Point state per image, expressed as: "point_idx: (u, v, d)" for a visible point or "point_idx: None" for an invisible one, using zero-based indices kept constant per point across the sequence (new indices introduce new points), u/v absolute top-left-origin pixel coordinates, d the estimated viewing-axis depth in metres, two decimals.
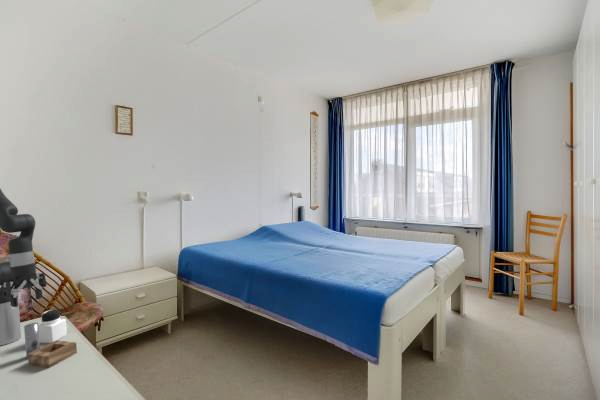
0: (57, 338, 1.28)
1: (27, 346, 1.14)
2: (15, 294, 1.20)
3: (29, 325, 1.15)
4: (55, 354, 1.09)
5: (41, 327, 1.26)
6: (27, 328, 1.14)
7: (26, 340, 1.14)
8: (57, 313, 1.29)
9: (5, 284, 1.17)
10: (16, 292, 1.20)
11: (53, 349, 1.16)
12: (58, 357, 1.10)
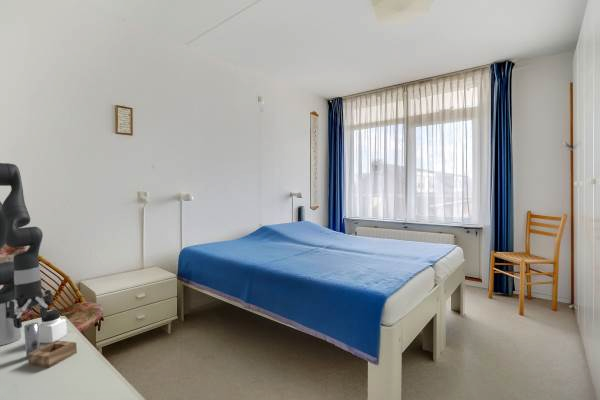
0: (57, 338, 1.28)
1: (27, 346, 1.14)
2: (19, 314, 1.11)
3: (29, 325, 1.15)
4: (55, 354, 1.09)
5: (41, 327, 1.26)
6: (27, 328, 1.14)
7: (26, 340, 1.14)
8: (57, 313, 1.29)
9: (8, 304, 1.08)
10: (20, 312, 1.11)
11: (53, 349, 1.16)
12: (58, 357, 1.10)
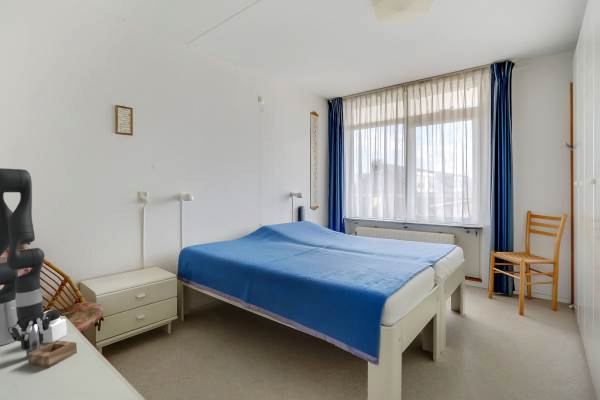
0: (57, 338, 1.28)
1: None
2: (26, 337, 1.13)
3: None
4: (55, 354, 1.09)
5: None
6: None
7: None
8: (57, 313, 1.29)
9: (11, 330, 1.09)
10: (26, 335, 1.13)
11: (53, 349, 1.16)
12: (58, 357, 1.10)
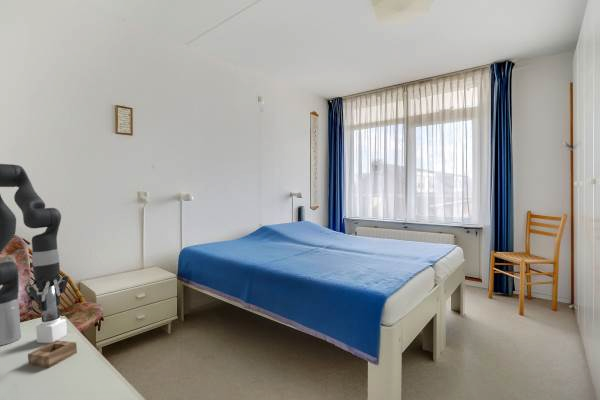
0: (57, 338, 1.28)
1: None
2: (43, 297, 1.10)
3: None
4: (55, 354, 1.09)
5: (41, 327, 1.26)
6: None
7: None
8: (57, 313, 1.29)
9: (28, 289, 1.06)
10: (43, 295, 1.10)
11: (53, 349, 1.16)
12: (58, 357, 1.10)
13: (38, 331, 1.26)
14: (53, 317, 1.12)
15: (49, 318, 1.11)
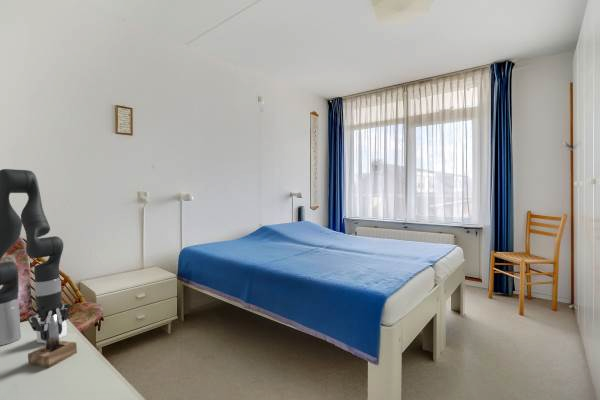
0: None
1: None
2: (45, 327, 1.10)
3: None
4: (55, 354, 1.09)
5: None
6: None
7: None
8: None
9: (31, 320, 1.06)
10: (45, 325, 1.10)
11: (53, 349, 1.16)
12: (58, 357, 1.10)
13: (38, 331, 1.26)
14: (55, 346, 1.12)
15: (51, 347, 1.11)
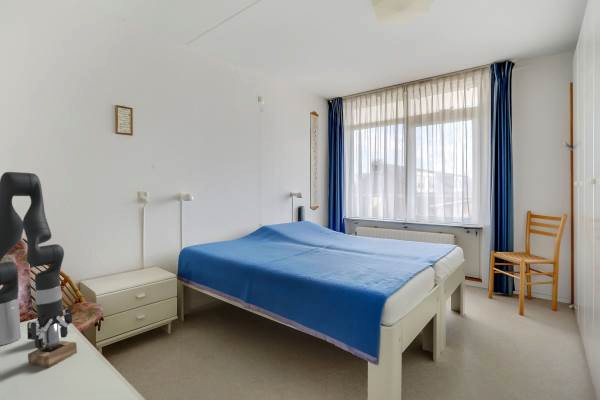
0: None
1: (47, 346, 1.11)
2: (40, 335, 1.08)
3: None
4: (55, 354, 1.09)
5: None
6: None
7: (46, 340, 1.11)
8: None
9: (30, 325, 1.06)
10: (42, 332, 1.09)
11: None
12: (58, 357, 1.10)
13: None
14: None
15: None
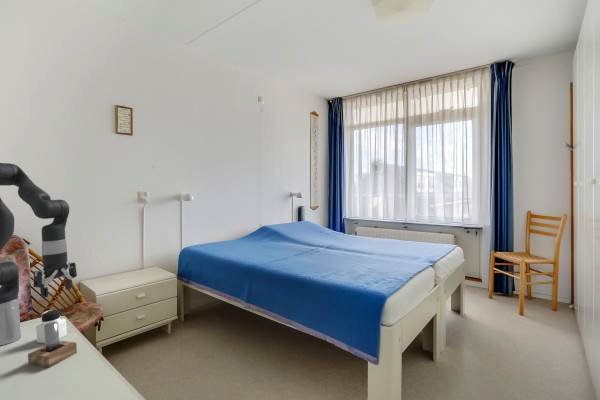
0: None
1: (47, 346, 1.11)
2: (46, 284, 1.13)
3: (49, 324, 1.12)
4: (55, 354, 1.09)
5: (41, 327, 1.26)
6: (47, 327, 1.11)
7: (46, 340, 1.11)
8: (57, 313, 1.29)
9: (36, 273, 1.11)
10: (47, 282, 1.13)
11: None
12: (58, 357, 1.10)
13: (38, 331, 1.26)
14: None
15: None
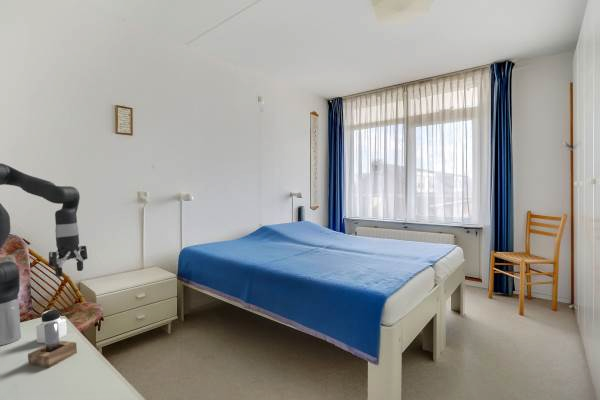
0: None
1: (47, 346, 1.11)
2: (60, 264, 1.22)
3: (49, 324, 1.12)
4: (55, 354, 1.09)
5: (41, 327, 1.26)
6: (47, 327, 1.11)
7: (46, 340, 1.11)
8: (57, 313, 1.29)
9: (52, 253, 1.19)
10: (61, 262, 1.22)
11: None
12: (58, 357, 1.10)
13: (38, 331, 1.26)
14: None
15: None
